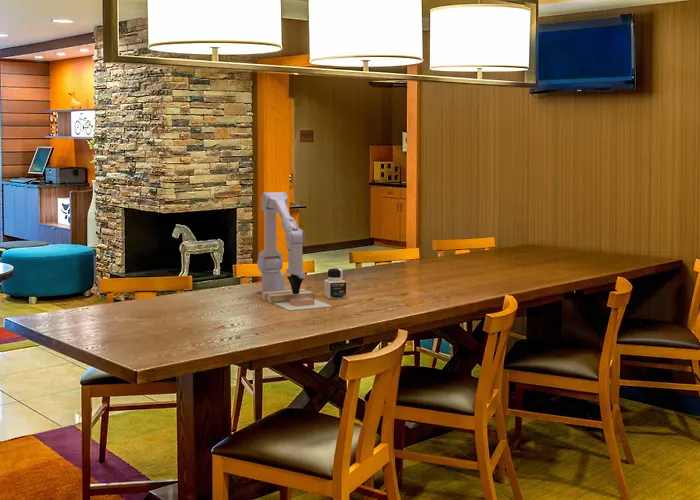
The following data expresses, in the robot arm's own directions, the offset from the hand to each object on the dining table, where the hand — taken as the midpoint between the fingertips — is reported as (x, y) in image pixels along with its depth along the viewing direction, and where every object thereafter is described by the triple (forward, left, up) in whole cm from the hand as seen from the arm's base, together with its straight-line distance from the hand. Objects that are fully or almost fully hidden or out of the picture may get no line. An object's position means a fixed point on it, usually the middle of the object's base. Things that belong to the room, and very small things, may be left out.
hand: (295, 293), depth 364 cm
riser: (-3, -8, -4) cm, 9 cm away
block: (+2, +6, -1) cm, 6 cm away
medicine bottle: (-19, +3, -4) cm, 20 cm away
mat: (+2, +7, -4) cm, 8 cm away
